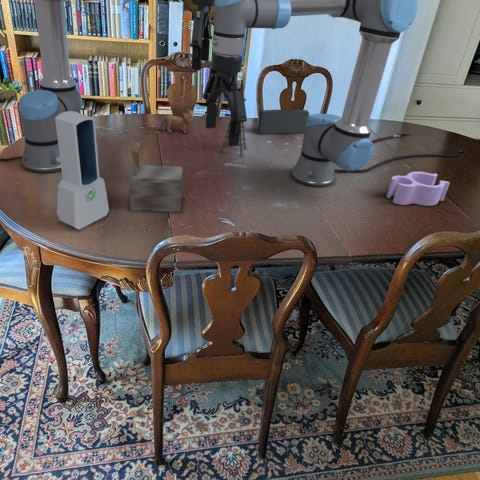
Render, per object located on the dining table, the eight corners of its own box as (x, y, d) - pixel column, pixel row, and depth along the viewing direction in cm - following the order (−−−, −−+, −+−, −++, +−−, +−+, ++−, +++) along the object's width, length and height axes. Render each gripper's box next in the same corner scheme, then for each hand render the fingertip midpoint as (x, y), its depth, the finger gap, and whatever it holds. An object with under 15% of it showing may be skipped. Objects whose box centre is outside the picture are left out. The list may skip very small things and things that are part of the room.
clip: (400, 208, 156) (406, 189, 152) (379, 191, 165) (384, 173, 162) (448, 203, 162) (455, 186, 158) (425, 187, 172) (431, 170, 168)
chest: (130, 210, 139) (129, 181, 134) (134, 195, 146) (133, 167, 141) (180, 212, 140) (181, 183, 135) (181, 198, 148) (182, 170, 143)
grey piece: (126, 180, 134) (125, 151, 129) (130, 167, 141) (129, 139, 136) (181, 183, 135) (182, 154, 130) (182, 170, 143) (183, 142, 138)
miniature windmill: (241, 156, 181) (249, 76, 164) (220, 152, 182) (226, 73, 165) (246, 147, 188) (254, 71, 172) (225, 144, 189) (231, 68, 173)
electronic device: (76, 231, 126) (63, 124, 110) (57, 222, 129) (42, 116, 113) (110, 214, 135) (103, 112, 119) (91, 206, 138) (82, 105, 122)
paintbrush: (406, 132, 223) (406, 130, 222) (411, 134, 221) (412, 132, 220) (362, 144, 207) (363, 141, 206) (368, 146, 205) (368, 143, 204)
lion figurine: (191, 128, 201) (192, 107, 196) (194, 132, 197) (195, 111, 192) (157, 129, 196) (157, 108, 192) (160, 134, 192) (160, 112, 187)
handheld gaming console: (303, 130, 212) (307, 109, 207) (306, 132, 210) (310, 111, 205) (256, 132, 205) (259, 109, 200) (259, 134, 203) (261, 111, 197)
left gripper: (208, -5, 127) (204, 75, 138) (222, -12, 148) (218, 58, 159) (181, -8, 127) (179, 72, 139) (199, -15, 148) (196, 55, 160)
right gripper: (192, 43, 122) (190, 122, 134) (238, 67, 104) (231, 155, 116) (218, 43, 125) (213, 120, 137) (266, 66, 108) (256, 152, 119)
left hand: (200, 65), depth 149 cm, fingers open, 13 cm apart
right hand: (221, 136), depth 126 cm, fingers open, 13 cm apart
